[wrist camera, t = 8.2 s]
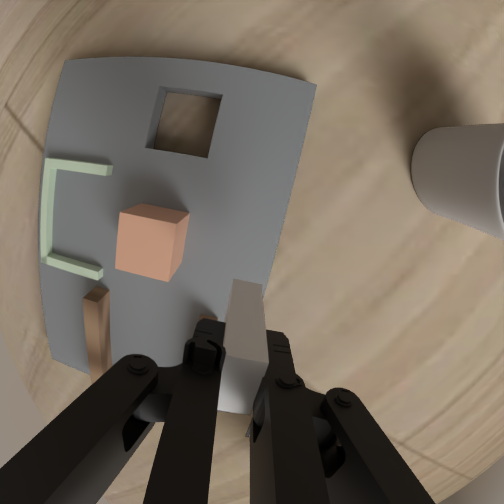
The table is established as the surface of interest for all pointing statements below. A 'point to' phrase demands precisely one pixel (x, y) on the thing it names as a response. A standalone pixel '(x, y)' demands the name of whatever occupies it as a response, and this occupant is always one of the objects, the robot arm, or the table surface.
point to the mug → (463, 175)
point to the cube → (151, 241)
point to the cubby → (101, 330)
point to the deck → (165, 195)
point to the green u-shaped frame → (47, 214)
